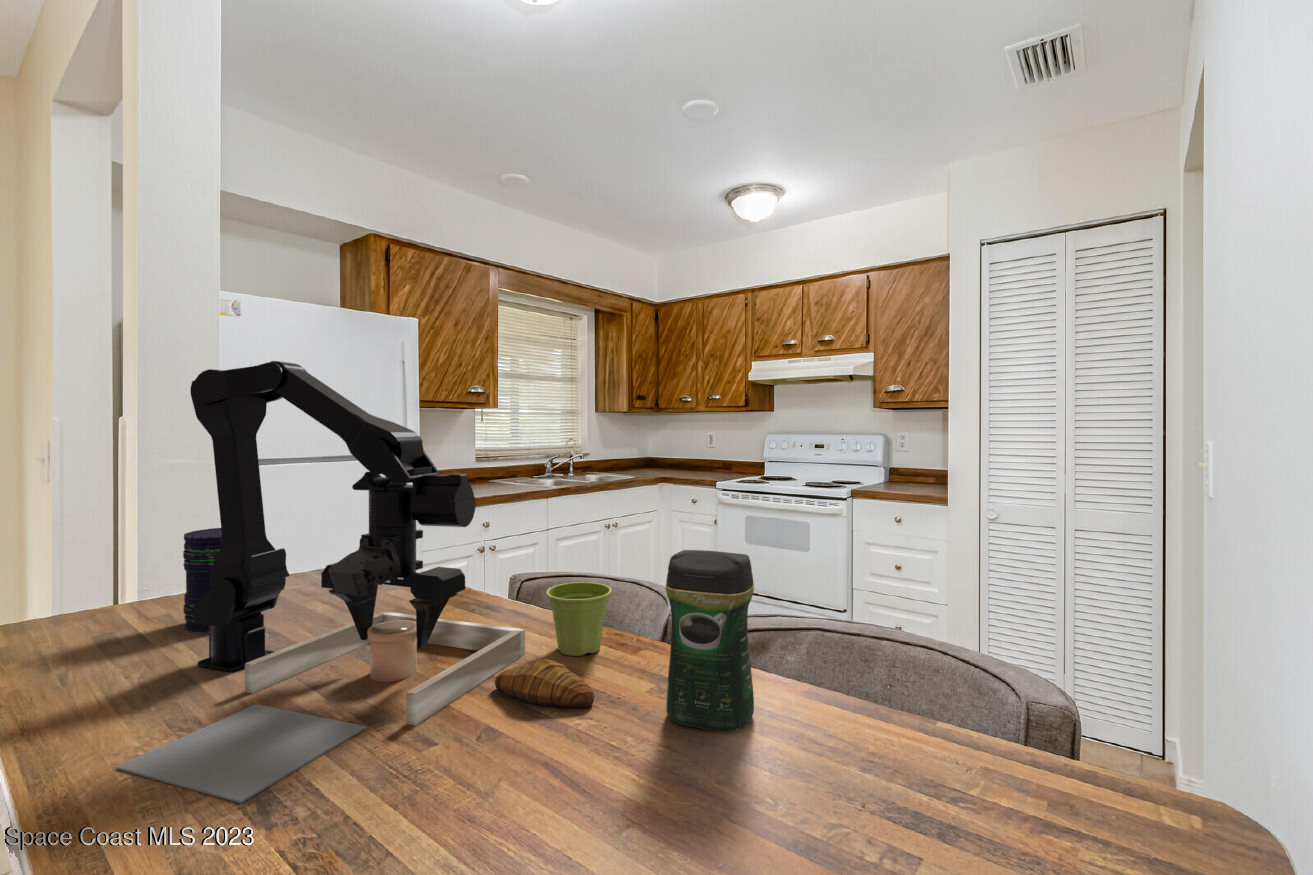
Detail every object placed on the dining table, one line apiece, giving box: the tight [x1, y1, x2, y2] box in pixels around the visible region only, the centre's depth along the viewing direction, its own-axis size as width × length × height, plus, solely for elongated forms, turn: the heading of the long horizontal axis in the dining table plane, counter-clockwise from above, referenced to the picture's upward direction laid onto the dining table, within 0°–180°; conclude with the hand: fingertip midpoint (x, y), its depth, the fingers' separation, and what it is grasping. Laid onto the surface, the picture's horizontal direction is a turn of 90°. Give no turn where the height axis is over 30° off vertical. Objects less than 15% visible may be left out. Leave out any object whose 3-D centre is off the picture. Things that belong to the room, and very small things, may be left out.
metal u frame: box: [244, 611, 526, 727], centre depth 82 cm, size 25×22×4 cm
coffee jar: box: [665, 549, 755, 733], centre depth 69 cm, size 10×8×19 cm
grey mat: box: [116, 703, 367, 804], centre depth 62 cm, size 16×14×1 cm
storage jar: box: [182, 527, 222, 634], centre depth 101 cm, size 10×10×15 cm
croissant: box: [494, 658, 595, 709], centre depth 74 cm, size 14×7×5 cm, turn 67°
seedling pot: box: [368, 620, 418, 683], centre depth 81 cm, size 6×6×6 cm
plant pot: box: [545, 581, 613, 657], centre depth 90 cm, size 9×9×9 cm
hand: (392, 643), depth 81 cm, fingers open, 9 cm apart
